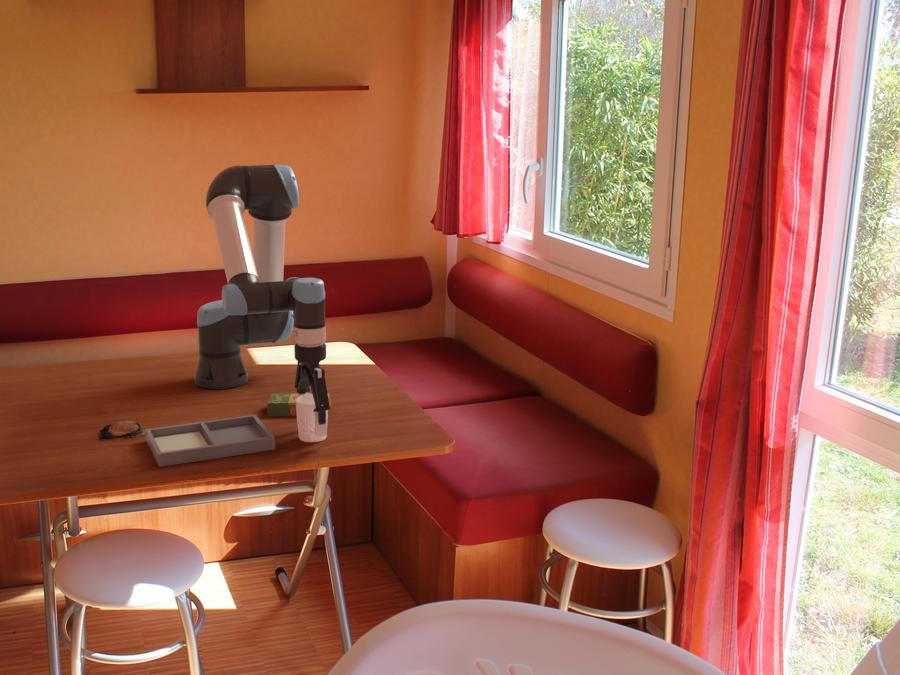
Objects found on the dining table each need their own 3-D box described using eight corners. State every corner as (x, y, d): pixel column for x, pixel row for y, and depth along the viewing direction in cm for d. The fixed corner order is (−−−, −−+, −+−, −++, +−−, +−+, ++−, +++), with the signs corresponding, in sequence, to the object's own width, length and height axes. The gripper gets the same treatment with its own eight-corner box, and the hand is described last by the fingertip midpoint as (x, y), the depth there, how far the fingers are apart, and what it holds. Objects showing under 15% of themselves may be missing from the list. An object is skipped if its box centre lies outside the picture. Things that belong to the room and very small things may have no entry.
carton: (328, 417, 258) (328, 401, 257) (267, 417, 258) (266, 402, 256) (330, 406, 266) (330, 391, 265) (270, 407, 266) (270, 392, 264)
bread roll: (142, 427, 250) (141, 413, 249) (146, 438, 243) (145, 423, 242) (97, 432, 246) (96, 418, 245) (100, 443, 239) (99, 429, 238)
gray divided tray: (145, 441, 239) (145, 429, 238) (255, 425, 250) (255, 414, 250) (158, 466, 223) (157, 454, 223) (275, 449, 235) (274, 437, 234)
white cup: (299, 432, 246) (298, 393, 244) (331, 432, 246) (330, 394, 244) (293, 443, 239) (292, 403, 236) (326, 443, 238) (325, 404, 236)
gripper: (280, 332, 246) (283, 413, 251) (310, 357, 224) (313, 446, 229) (309, 329, 249) (311, 409, 254) (342, 354, 227) (344, 441, 232)
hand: (312, 427), depth 242 cm, fingers open, 13 cm apart
